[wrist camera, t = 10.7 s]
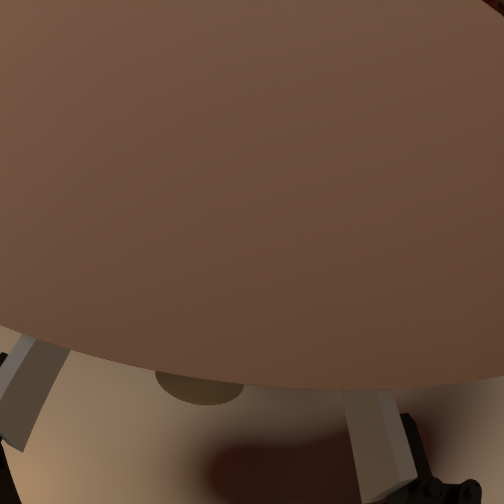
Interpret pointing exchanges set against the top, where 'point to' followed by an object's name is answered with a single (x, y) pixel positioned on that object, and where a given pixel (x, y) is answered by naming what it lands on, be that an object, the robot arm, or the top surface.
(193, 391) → the peg
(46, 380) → the robot arm
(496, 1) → the top surface
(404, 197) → the beige arch frame
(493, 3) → the top surface
